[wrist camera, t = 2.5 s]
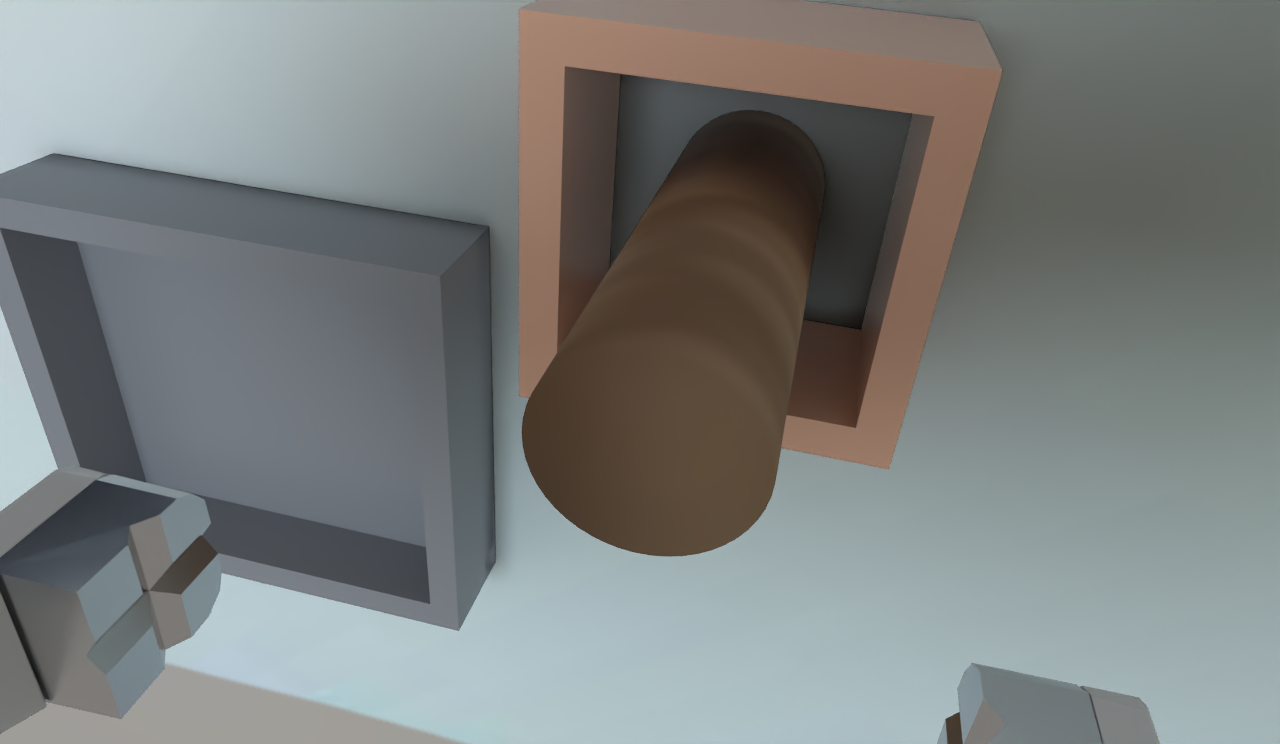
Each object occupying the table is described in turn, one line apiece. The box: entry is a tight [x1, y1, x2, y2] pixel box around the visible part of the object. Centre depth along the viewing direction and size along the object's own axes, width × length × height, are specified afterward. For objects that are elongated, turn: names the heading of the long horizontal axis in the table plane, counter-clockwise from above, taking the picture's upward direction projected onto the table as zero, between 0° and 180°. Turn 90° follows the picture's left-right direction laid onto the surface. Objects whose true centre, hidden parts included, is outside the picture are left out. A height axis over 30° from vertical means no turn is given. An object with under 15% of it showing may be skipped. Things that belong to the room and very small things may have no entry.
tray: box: [0, 154, 495, 631], centre depth 24 cm, size 12×11×3 cm
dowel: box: [522, 110, 825, 556], centre depth 15 cm, size 3×3×10 cm
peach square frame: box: [519, 0, 1003, 469], centre depth 18 cm, size 8×8×4 cm
